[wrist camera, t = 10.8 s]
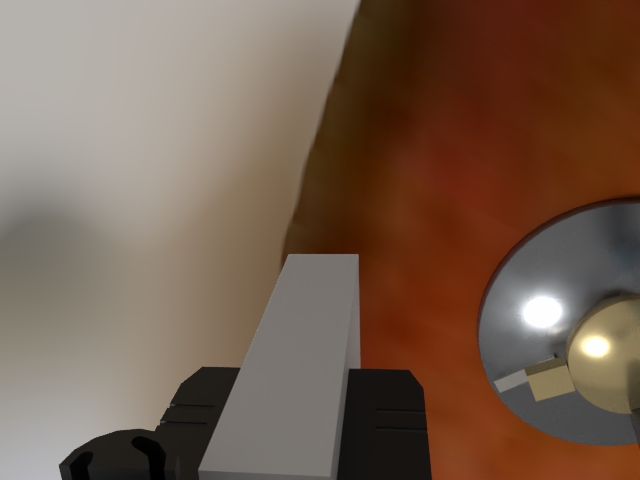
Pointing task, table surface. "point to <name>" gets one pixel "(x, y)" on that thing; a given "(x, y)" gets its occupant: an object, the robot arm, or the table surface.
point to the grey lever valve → (598, 360)
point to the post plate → (558, 312)
